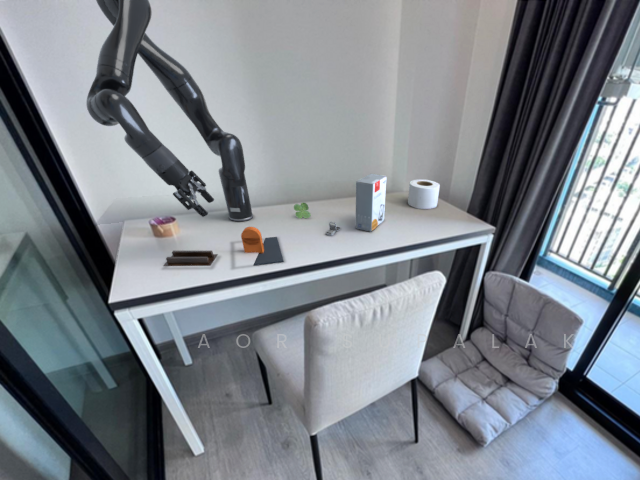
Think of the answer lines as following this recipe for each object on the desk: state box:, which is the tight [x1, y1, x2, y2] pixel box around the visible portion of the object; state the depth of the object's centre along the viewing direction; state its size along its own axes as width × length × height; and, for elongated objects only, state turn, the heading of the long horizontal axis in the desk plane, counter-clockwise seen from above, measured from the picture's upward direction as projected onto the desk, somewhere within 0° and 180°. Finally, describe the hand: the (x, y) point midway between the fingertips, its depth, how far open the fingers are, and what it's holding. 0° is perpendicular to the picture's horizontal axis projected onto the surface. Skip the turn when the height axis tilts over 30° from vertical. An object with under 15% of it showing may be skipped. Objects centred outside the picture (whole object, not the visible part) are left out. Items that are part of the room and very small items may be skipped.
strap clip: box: [325, 221, 341, 237], centre depth 133 cm, size 8×3×4 cm, turn 165°
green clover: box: [293, 202, 312, 219], centre depth 146 cm, size 7×8×7 cm
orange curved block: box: [240, 226, 264, 254], centre depth 112 cm, size 6×2×9 cm, turn 98°
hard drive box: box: [355, 173, 387, 232], centre depth 138 cm, size 16×8×20 cm, turn 161°
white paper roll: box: [407, 179, 441, 210], centre depth 168 cm, size 16×15×11 cm
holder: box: [162, 250, 219, 267], centre depth 106 cm, size 14×8×3 cm, turn 98°
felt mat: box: [252, 236, 285, 267], centre depth 115 cm, size 20×16×1 cm
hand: (208, 208), depth 107 cm, fingers open, 8 cm apart
